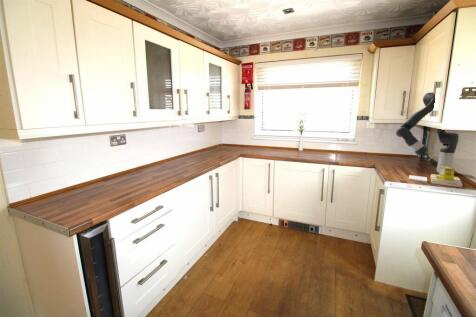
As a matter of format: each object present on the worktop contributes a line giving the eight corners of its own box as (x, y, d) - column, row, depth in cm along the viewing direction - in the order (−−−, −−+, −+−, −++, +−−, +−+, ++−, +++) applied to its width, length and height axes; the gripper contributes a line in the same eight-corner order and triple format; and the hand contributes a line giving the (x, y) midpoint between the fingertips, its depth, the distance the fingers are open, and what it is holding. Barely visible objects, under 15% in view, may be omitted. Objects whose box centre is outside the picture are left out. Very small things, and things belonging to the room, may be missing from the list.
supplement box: (452, 183, 169) (455, 168, 167) (443, 182, 170) (445, 168, 168) (446, 181, 174) (449, 166, 172) (437, 180, 175) (440, 166, 173)
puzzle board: (430, 177, 185) (430, 174, 184) (457, 180, 175) (458, 177, 175) (431, 183, 169) (432, 179, 168) (461, 187, 160) (462, 183, 159)
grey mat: (409, 176, 187) (409, 175, 187) (426, 178, 181) (426, 177, 180) (408, 179, 178) (408, 178, 177) (427, 182, 171) (427, 181, 171)
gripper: (423, 146, 171) (441, 163, 166) (423, 143, 182) (440, 160, 177) (413, 152, 175) (430, 169, 170) (413, 150, 186) (430, 166, 181)
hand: (435, 164), depth 174 cm, fingers open, 8 cm apart
